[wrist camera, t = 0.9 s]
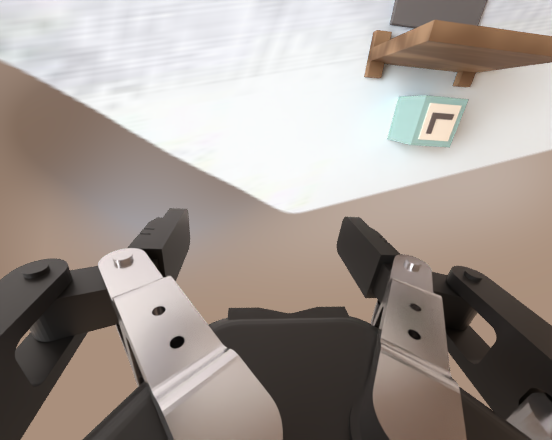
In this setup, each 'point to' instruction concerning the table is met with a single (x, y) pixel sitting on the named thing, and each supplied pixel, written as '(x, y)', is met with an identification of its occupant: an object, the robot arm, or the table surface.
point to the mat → (436, 12)
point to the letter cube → (426, 120)
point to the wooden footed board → (457, 49)
